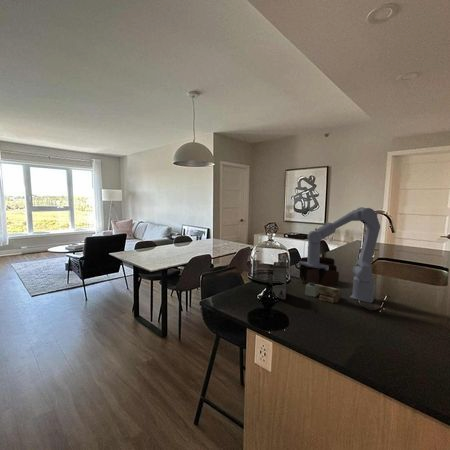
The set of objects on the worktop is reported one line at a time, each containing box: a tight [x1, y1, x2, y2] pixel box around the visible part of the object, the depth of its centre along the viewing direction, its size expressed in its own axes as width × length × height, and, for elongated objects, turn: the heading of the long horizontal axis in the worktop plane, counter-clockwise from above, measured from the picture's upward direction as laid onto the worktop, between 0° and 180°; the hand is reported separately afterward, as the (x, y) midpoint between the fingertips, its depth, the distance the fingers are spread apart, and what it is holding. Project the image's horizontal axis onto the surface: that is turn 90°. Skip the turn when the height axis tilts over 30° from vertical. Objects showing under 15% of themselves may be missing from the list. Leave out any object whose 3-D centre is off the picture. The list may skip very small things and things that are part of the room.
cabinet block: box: [304, 282, 320, 298], centre depth 128 cm, size 5×5×6 cm
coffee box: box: [272, 261, 288, 300], centre depth 126 cm, size 9×6×16 cm
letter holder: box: [299, 256, 340, 286], centre depth 147 cm, size 10×20×14 cm, turn 84°
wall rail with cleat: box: [317, 284, 342, 304], centre depth 125 cm, size 14×10×4 cm
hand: (312, 281), depth 127 cm, fingers open, 7 cm apart
